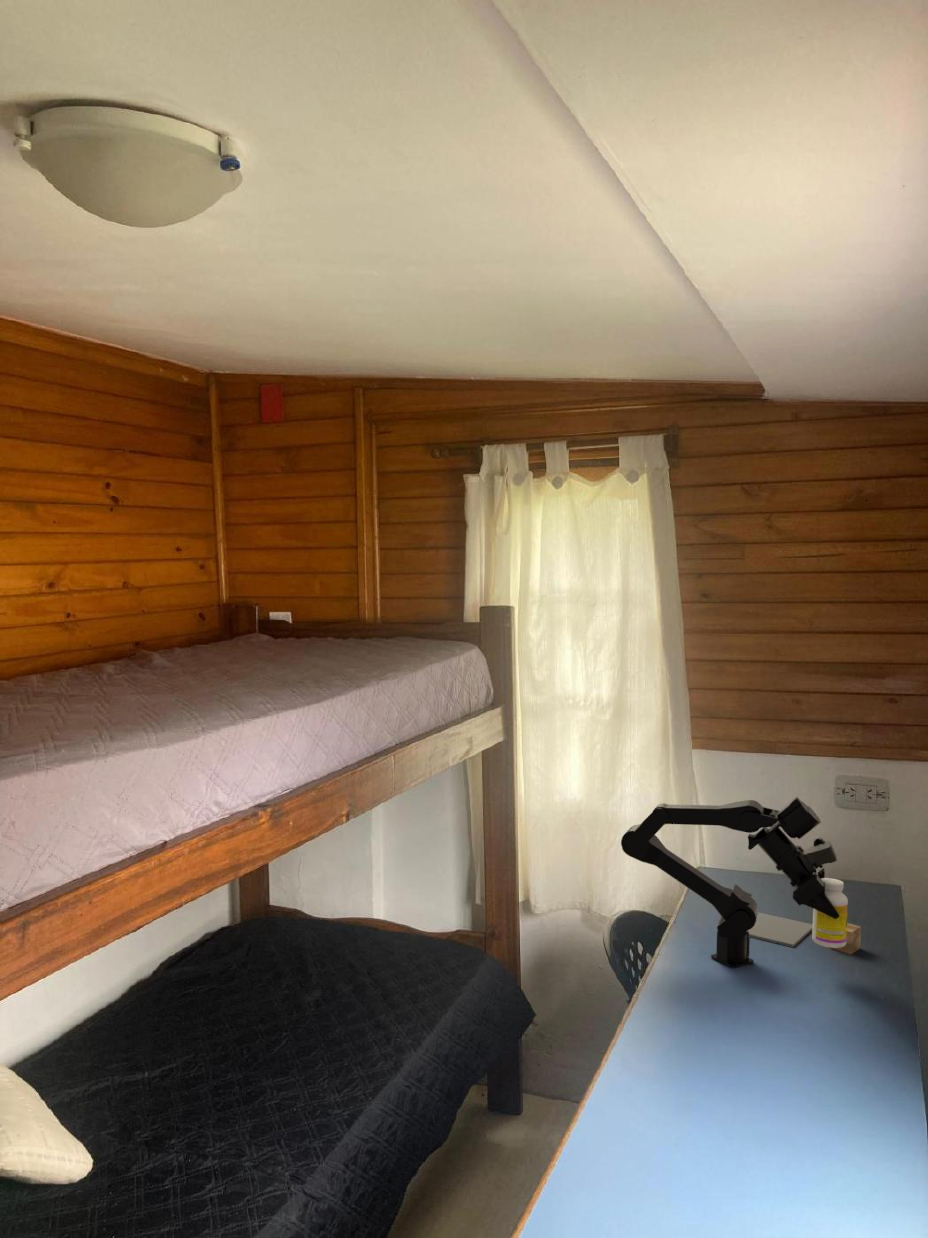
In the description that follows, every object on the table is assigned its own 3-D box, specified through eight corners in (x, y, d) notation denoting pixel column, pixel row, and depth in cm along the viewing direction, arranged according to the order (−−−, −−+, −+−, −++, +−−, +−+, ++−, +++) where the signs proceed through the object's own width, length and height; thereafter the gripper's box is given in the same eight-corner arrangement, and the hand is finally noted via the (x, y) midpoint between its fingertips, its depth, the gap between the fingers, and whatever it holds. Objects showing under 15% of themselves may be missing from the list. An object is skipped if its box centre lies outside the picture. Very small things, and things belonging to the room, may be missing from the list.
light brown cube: (850, 954, 207) (851, 932, 207) (828, 948, 210) (829, 926, 210) (860, 949, 210) (861, 926, 210) (838, 942, 214) (838, 921, 214)
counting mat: (793, 947, 210) (793, 944, 210) (723, 930, 220) (723, 928, 220) (814, 927, 223) (815, 925, 223) (748, 912, 233) (748, 910, 233)
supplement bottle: (851, 949, 192) (854, 887, 191) (818, 948, 192) (821, 886, 191) (838, 937, 198) (841, 876, 198) (807, 936, 198) (809, 876, 198)
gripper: (813, 839, 187) (871, 902, 183) (813, 818, 204) (866, 876, 201) (769, 873, 190) (826, 936, 186) (773, 850, 207) (825, 907, 204)
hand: (837, 912), depth 194 cm, fingers closed on supplement bottle, 7 cm apart
